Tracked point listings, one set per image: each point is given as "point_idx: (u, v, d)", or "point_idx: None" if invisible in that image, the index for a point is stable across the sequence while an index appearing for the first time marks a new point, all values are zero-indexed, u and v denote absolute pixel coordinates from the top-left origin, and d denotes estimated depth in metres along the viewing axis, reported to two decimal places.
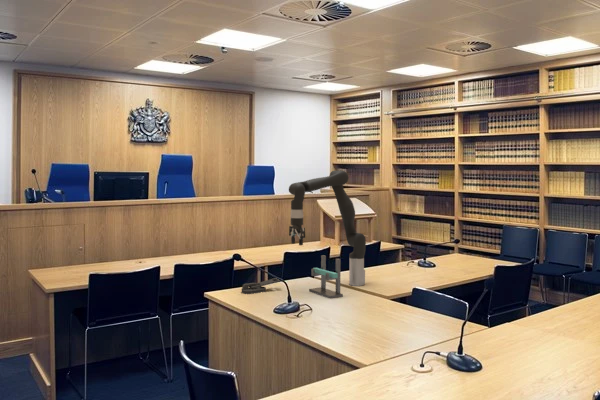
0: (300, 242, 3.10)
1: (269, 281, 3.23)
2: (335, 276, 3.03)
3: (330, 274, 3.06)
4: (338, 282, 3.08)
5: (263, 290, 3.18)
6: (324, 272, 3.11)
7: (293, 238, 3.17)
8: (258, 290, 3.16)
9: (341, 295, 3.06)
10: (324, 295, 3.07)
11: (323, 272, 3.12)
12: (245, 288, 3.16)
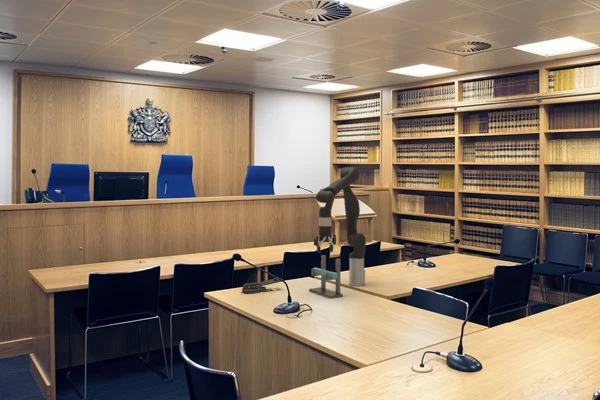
0: (332, 249, 3.14)
1: (270, 281, 3.23)
2: (335, 276, 3.03)
3: (330, 274, 3.06)
4: (338, 282, 3.08)
5: (263, 290, 3.18)
6: (324, 272, 3.11)
7: None
8: (258, 290, 3.16)
9: (341, 295, 3.06)
10: (324, 295, 3.07)
11: (323, 272, 3.12)
12: (245, 288, 3.16)
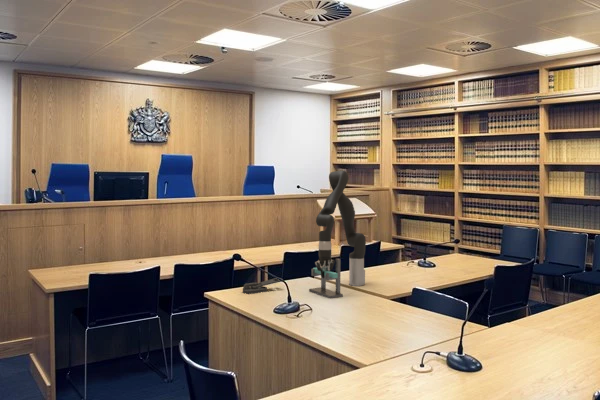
0: None
1: (270, 281, 3.23)
2: (335, 276, 3.03)
3: (330, 274, 3.06)
4: (338, 282, 3.08)
5: (264, 290, 3.19)
6: (324, 272, 3.11)
7: None
8: (259, 290, 3.17)
9: (341, 295, 3.06)
10: (324, 295, 3.07)
11: None
12: (246, 288, 3.16)
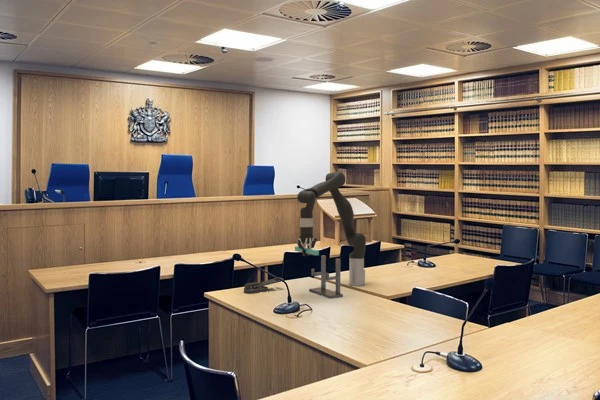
0: None
1: (271, 281, 3.24)
2: (316, 253, 2.96)
3: (311, 251, 2.98)
4: (338, 282, 3.08)
5: (265, 290, 3.19)
6: None
7: None
8: (260, 290, 3.17)
9: (341, 295, 3.06)
10: (324, 295, 3.07)
11: None
12: (247, 288, 3.16)
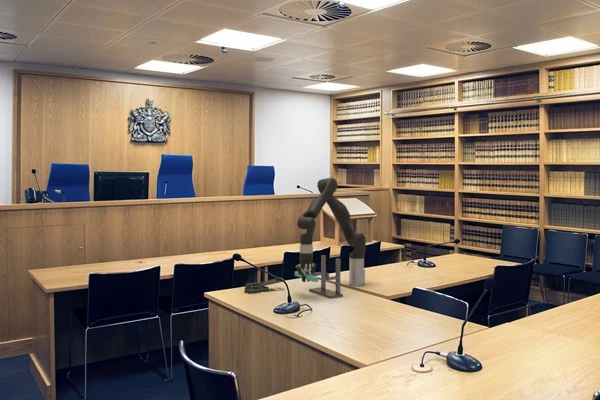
0: None
1: (272, 281, 3.24)
2: (316, 280, 2.97)
3: (311, 278, 2.99)
4: (338, 282, 3.08)
5: (266, 290, 3.19)
6: (305, 276, 3.04)
7: None
8: (261, 290, 3.17)
9: (341, 295, 3.06)
10: (324, 295, 3.07)
11: None
12: (248, 288, 3.16)
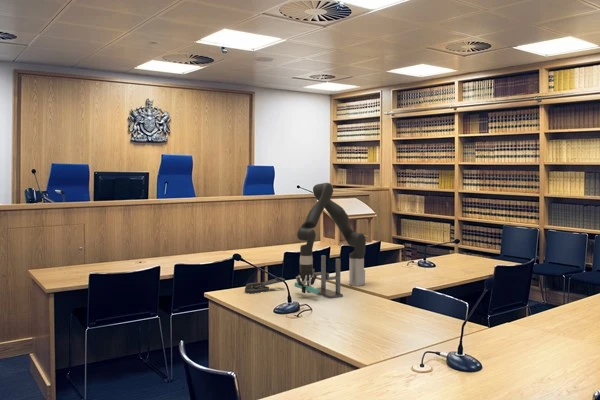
0: None
1: (272, 281, 3.24)
2: (316, 292, 2.97)
3: (311, 289, 2.99)
4: (338, 282, 3.08)
5: (266, 290, 3.19)
6: (305, 287, 3.05)
7: None
8: (261, 290, 3.17)
9: (341, 295, 3.06)
10: (324, 295, 3.07)
11: None
12: (248, 288, 3.16)
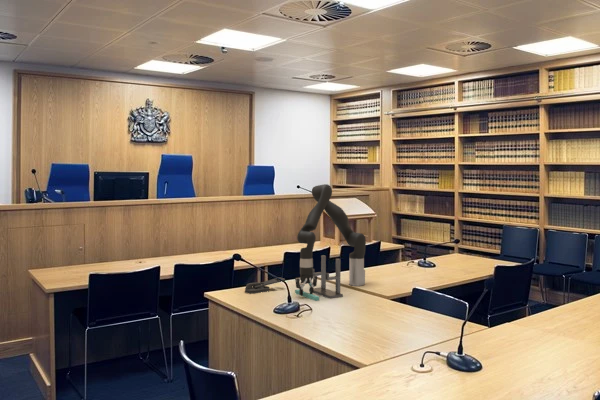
0: (312, 291, 3.08)
1: (272, 281, 3.24)
2: (317, 299, 2.97)
3: (312, 297, 3.00)
4: (338, 282, 3.08)
5: (267, 290, 3.20)
6: (306, 295, 3.05)
7: None
8: (262, 290, 3.18)
9: (341, 295, 3.06)
10: (324, 295, 3.07)
11: (305, 295, 3.06)
12: (249, 288, 3.17)
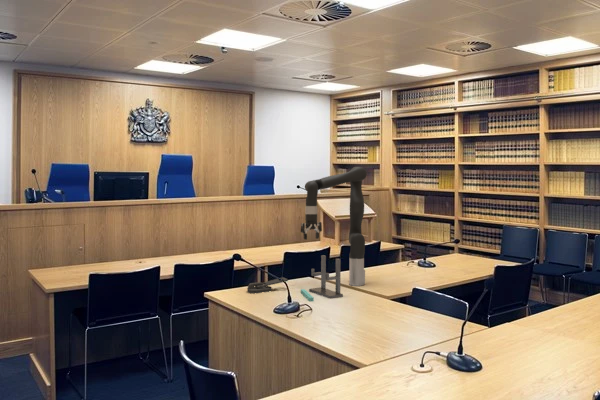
0: (318, 235, 3.34)
1: (275, 281, 3.24)
2: (310, 300, 2.96)
3: (307, 297, 2.99)
4: (338, 282, 3.08)
5: (269, 290, 3.20)
6: (305, 295, 3.05)
7: None
8: (264, 290, 3.18)
9: (341, 295, 3.06)
10: (324, 295, 3.07)
11: (304, 295, 3.06)
12: (251, 287, 3.17)
